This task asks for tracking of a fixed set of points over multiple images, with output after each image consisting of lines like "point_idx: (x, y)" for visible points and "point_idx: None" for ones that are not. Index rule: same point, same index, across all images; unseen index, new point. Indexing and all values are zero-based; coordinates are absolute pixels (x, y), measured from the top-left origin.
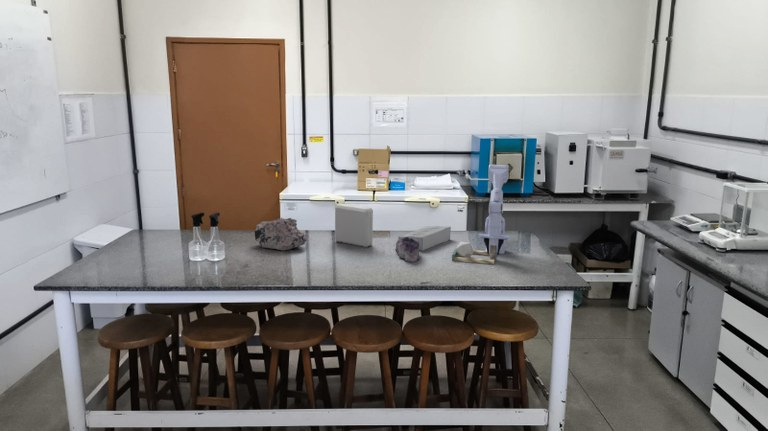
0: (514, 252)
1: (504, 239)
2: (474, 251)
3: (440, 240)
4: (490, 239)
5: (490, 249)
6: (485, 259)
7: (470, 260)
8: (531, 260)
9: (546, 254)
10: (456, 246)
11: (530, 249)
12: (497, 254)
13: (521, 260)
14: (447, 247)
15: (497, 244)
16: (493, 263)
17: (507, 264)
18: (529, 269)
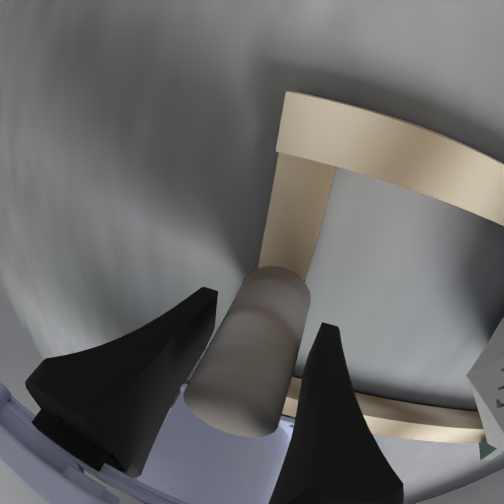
0: None
1: (31, 424)
2: (404, 420)
3: (468, 495)
4: (248, 500)
5: (290, 369)
6: (401, 174)
7: None
8: (35, 254)
9: (29, 331)
10: (501, 451)
11: None
12: (212, 291)
13: (70, 255)
14: (477, 462)
15: (206, 454)
16: (297, 92)
17: (144, 130)
18: (23, 49)
